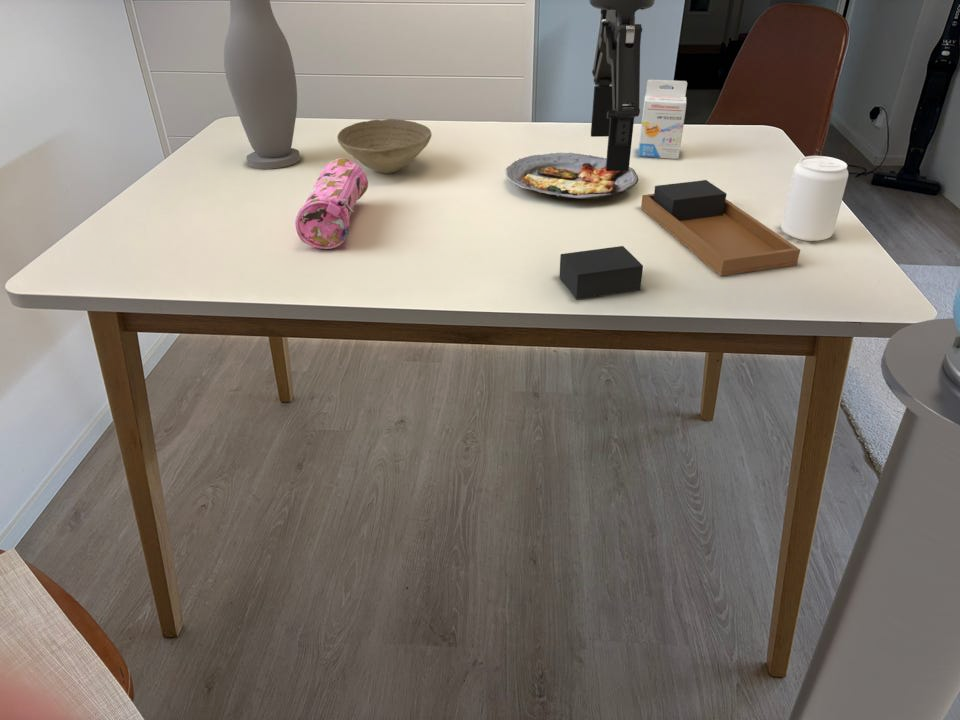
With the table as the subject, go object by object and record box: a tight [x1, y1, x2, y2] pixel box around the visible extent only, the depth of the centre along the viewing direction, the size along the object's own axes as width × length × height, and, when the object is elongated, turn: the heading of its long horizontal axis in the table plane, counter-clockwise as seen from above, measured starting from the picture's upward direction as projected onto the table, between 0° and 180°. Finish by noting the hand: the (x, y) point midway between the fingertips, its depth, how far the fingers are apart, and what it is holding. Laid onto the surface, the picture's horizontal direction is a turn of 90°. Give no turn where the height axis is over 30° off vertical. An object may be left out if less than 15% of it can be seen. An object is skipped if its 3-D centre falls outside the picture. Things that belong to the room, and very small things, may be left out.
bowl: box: [336, 118, 432, 174], centre depth 151 cm, size 18×18×8 cm
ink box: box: [638, 79, 688, 160], centre depth 156 cm, size 8×5×15 cm, turn 78°
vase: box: [223, 0, 301, 170], centre depth 150 cm, size 13×13×35 cm
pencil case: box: [294, 157, 369, 250], centre depth 128 cm, size 21×9×9 cm, turn 179°
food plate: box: [505, 152, 639, 200], centre depth 145 cm, size 25×23×4 cm
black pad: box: [558, 245, 644, 300], centre depth 110 cm, size 7×10×4 cm
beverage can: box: [780, 155, 849, 242], centre depth 122 cm, size 8×8×12 cm
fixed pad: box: [653, 179, 727, 221], centre depth 131 cm, size 7×10×4 cm
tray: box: [640, 193, 801, 277], centre depth 125 cm, size 28×13×3 cm, turn 15°
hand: (608, 152), depth 98 cm, fingers open, 13 cm apart
